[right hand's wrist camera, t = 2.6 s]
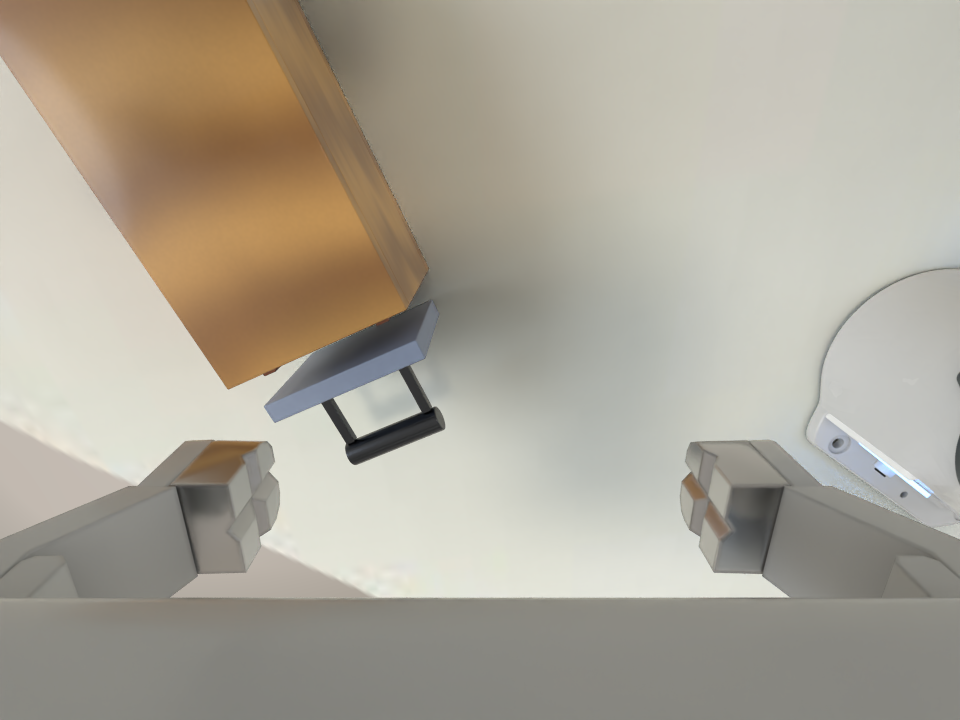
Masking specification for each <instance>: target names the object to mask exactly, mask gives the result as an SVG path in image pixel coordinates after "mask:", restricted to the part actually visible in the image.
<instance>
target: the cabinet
mask: <svg viewBox="0 0 960 720" xmlns="http://www.w3.org/2000/svg"><path fill="white" fill-rule="evenodd" d="M0 56H1V57H2V59H3V60H4V62H5V63H6V65H7V66H8V68H9V69H10V71H11V72H12V74H13V75H14V76H15V78H16V79H17V81H18V82H19V84H20V85H21V87H22V88H23V90H24V91H25V93H26V94H27V96H28V97H29V98H30V100H31V101H32V103H33V104H34V106H35V107H36V109H37V110H38V112H39V113H40V115H41V116H42V118H43V119H44V120H45V122H46V123H47V125H48V126H49V128H50V129H51V131H52V132H53V134H54V135H55V137H56V138H57V140H58V141H59V142H60V144H61V145H62V147H63V148H64V150H65V151H66V153H67V154H68V156H69V157H70V159H71V160H72V162H73V163H74V164H75V166H76V167H77V169H78V170H79V172H80V173H81V175H82V176H83V178H84V179H85V181H86V182H87V184H88V185H89V186H90V188H91V189H92V191H93V192H94V194H95V195H96V197H97V198H98V200H99V201H100V203H101V204H102V206H103V207H104V208H105V210H106V211H107V213H108V214H109V216H110V217H111V219H112V220H113V222H114V223H115V225H116V226H117V228H118V229H119V230H120V232H121V233H122V235H123V236H124V238H125V239H126V241H127V242H128V244H129V245H130V247H131V248H132V250H133V251H134V252H135V254H136V255H137V257H138V258H139V260H140V261H141V263H142V264H143V266H144V267H145V269H146V270H147V272H148V273H149V274H150V276H151V277H152V279H153V280H154V282H155V283H156V285H157V286H158V288H159V289H160V291H161V292H162V294H163V295H164V297H165V298H166V299H167V301H168V302H169V304H170V305H171V307H172V308H173V310H174V311H175V313H176V314H177V316H178V317H179V319H180V320H181V321H182V323H183V324H184V326H185V327H186V329H187V330H188V332H189V333H190V335H191V336H192V338H193V339H194V341H195V342H196V343H197V345H198V346H199V348H200V349H201V351H202V352H203V354H204V355H205V357H206V358H207V360H208V361H209V363H210V364H211V365H212V367H213V368H214V370H215V371H216V373H217V374H218V376H219V377H220V379H221V380H222V382H223V383H224V385H225V386H226V387H227V389H231V388H233V387H235V386H237V385H240V384H242V383H244V382H246V381H249V380H251V379H253V378H255V377H258V376H260V375H262V374H264V373H266V372H269V371H271V370H273V369H275V368H278V367H280V366H282V365H284V364H287V363H289V362H291V361H293V360H296V359H298V358H300V357H302V356H304V355H307V354H309V353H311V352H313V351H316V350H318V349H320V348H322V347H325V346H327V345H329V344H331V343H333V342H336V341H338V340H340V339H342V338H345V337H347V336H349V335H351V334H354V333H356V332H358V331H360V330H363V329H365V328H367V327H369V326H371V325H374V324H376V323H378V322H380V321H383V320H385V319H387V318H389V317H392V316H394V315H396V314H398V313H401V312H403V311H405V310H407V308H408V306H409V304H410V302H411V301H412V299H413V297H414V295H415V293H416V291H417V290H418V288H419V286H420V284H421V282H422V281H423V279H424V277H425V275H426V273H427V271H428V269H429V268H428V266H427V264H426V261H425V259H424V257H423V255H422V253H421V251H420V249H419V247H418V245H417V243H416V241H415V239H414V237H413V235H412V233H411V231H410V229H409V227H408V225H407V223H406V221H405V219H404V217H403V215H402V212H401V210H400V208H399V206H398V204H397V202H396V200H395V198H394V196H393V194H392V192H391V190H390V188H389V186H388V184H387V182H386V180H385V178H384V176H383V174H382V172H381V170H380V168H379V165H378V163H377V161H376V159H375V157H374V155H373V153H372V151H371V149H370V147H369V145H368V143H367V141H366V139H365V137H364V135H363V133H362V131H361V129H360V127H359V125H358V123H357V121H356V118H355V116H354V114H353V112H352V110H351V108H350V106H349V104H348V102H347V100H346V98H345V96H344V94H343V92H342V90H341V88H340V86H339V84H338V82H337V80H336V78H335V76H334V74H333V71H332V69H331V67H330V65H329V63H328V61H327V59H326V57H325V55H324V53H323V51H322V49H321V47H320V45H319V43H318V41H317V39H316V37H315V35H314V33H313V31H312V29H311V27H310V25H309V22H308V20H307V18H306V16H305V14H304V12H303V10H302V8H301V6H300V4H299V2H298V0H0Z"/></svg>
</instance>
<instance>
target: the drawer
mask: <svg viewBox="0 0 960 720" xmlns="http://www.w3.org/2000/svg"><path fill="white" fill-rule="evenodd" d="M438 316H439V312H438V310H437V308H436V306H435V304H434V302H433V300H430V301H428V302H426V303H423V304H421V305H419V306H417V307H414V308H412V309H410V310H408V311H405V312H403V313H401V314H399V315H397V316H394V317H392V318H391V317H389V318H387V319H385V320H383V321H380V322H378V323H376V325H374V326H372V327H370V328H367V329H365V330H363V331H361V332H358V333H356V334H354V335H352V336H350V337H347V338H345V339H343V340H341V341H338V342H336V343H334V344H332V345H329V346H327V347H325V348H323V349H320V350H318V351H316V352H314V353H312V354H311V355H310V357H309V358H308V359H307V360H306V361H305V362H304V363H303V364H302V365H301V366H300V368H299V369H298V370H297V371H296V372H295V373H294V374H293V375H292V376H291V377H290V378H289V380H288V381H287V382H286V383H285V384H284V385H283V386H282V387H281V388H280V389H279V390H278V392H277V393H276V394H275V395H274V396H273V397H272V398H271V399H270V400H269V401H268V402H267V404H266V405H265V406H264V408H265V409H266V411H267V412H268V414H269V415H270V417H271V418H272V420H273V421H274V422H278V421H280V420H283V419H285V418H287V417H290V416H292V415H294V414H297V413H299V412H301V411H304V410H306V409H308V408H311V407H313V406H315V405H318V404H320V403H322V405H323V407H324V408H325V410H326V411H327V413H328V415H329V416H330V418H331V420H332V421H333V423H334V424H335V426H336V428H337V429H338V431H339V432H340V434H341V436H342V437H343V439H344V441H345V442H346V446H345V450H346V455H347V457H348V459H349V461H350V462H351V463H352V464H353V465H358V464H360V463H363V462H365V461H368V460H370V459H373V458H375V457H378V456H380V455H383V454H385V453H388V452H390V451H393V450H395V449H398V448H400V447H403V446H405V445H408V444H410V443H413V442H415V441H418V440H420V439H422V438H425V437H427V436H430V435H432V434H435V433H437V432H440V431H442V430H444V429H445V421H444V418H443V416H442V413H441V412H440V410H439V409H438V408H437V407H432V406H431V404H430V402H429V400H428V398H427V396H426V394H425V393H424V391H423V389H422V387H421V385H420V383H419V381H418V380H417V378H416V376H415V374H414V372H413V370H412V368H411V367H410V365H411V364H414V363H416V362H418V361H421V360H423V359H425V357H426V354H427V351H428V348H429V345H430V342H431V338H432V335H433V332H434V329H435V326H436V323H437V320H438ZM280 367H281V366H280ZM280 367H278V368H275V369H273V370H271V371H269V372H266V373H264V374H263V375H264V376H267V375H269V374H271V373H273V372H276V371H277V370H278V369H279V368H280ZM397 370H399V371H400V373H401V375H402V377H403V378H404V380H405V382H406V384H407V386H408V387H409V389H410V391H411V393H412V395H413V397H414V398H415V400H416V402H417V404H418V406H419V408H420V409H421V411H422V412H420V413H418V414H415V415H413V416H410V417H408V418H406V419H403V420H401V421H398V422H396V423H393V424H391V425H389V426H386V427H384V428H381V429H379V430H376V431H374V432H371V433H369V434H367V435H364V436H362V437H359V438H357V437H356V435H355V433H354V432H353V430H352V429H351V427H350V425H349V424H348V422H347V420H346V419H345V417H344V415H343V414H342V412H341V410H340V409H339V407H338V405H337V404H336V402H335V401H334V399H333V398H334V397H336V396H339V395H341V394H343V393H346V392H348V391H350V390H353V389H355V388H357V387H360V386H362V385H364V384H367V383H369V382H372V381H374V380H376V379H379V378H381V377H383V376H386V375H388V374H390V373H393V372H395V371H397ZM356 438H357V439H356Z"/></svg>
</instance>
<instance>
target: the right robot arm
mask: <svg viewBox="0 0 960 720" xmlns="http://www.w3.org/2000/svg"><path fill="white" fill-rule="evenodd" d="M806 438H807V440H808V441H809V442H810V443H811V444H813V445H814V446H815V447H817V448H818V449H820V450H821V451H822V452H824V453H825V454H826V455H828V456H829V457H831V458H832V459H833V460H835V461H836V462H838V463H839V464H840V465H842V466H843V467H845V468H846V469H847V470H849V471H850V472H852V473H853V474H854V475H856V476H857V477H858V478H860V479H861V480H863V481H864V482H865V483H867V484H868V485H870V486H871V487H872V488H874V489H875V490H877V491H878V492H879V493H881V494H882V495H884V496H885V497H886V498H888V499H889V500H891V501H892V502H893V503H895V504H896V505H897V506H899V507H900V508H902V509H903V510H904V511H906V512H907V513H909V514H910V515H911V516H913V517H914V518H916V519H917V520H919V521H920V522H922V523H923V524H925V525H923V524H921V523H919V522H916V521H914V520H911V519H909V518H907V517H904V516H902V515H899V514H897V513H895V512H892V511H890V510H887V509H885V508H883V507H880V506H878V505H875V504H873V503H871V502H868V501H866V500H863V499H861V498H859V497H856V496H854V495H851V494H849V493H847V492H844V491H842V490H839V489H837V488H835V487H832V486H822V485H821V484H820V483H819V482H818V481H817V480H816V479H815V478H814V477H813V476H811V475H810V474H809V473H808V472H807V471H806V470H805V469H804V468H803V467H802V466H801V465H800V464H799V463H798V462H797V461H795V460H794V459H793V458H792V457H791V456H790V455H789V454H788V453H787V452H786V451H785V450H784V449H783V448H782V447H781V446H779V445H778V444H777V443H776V442H774V441H771V440H751V441H747V440H744V441H702V442H691V443H690V445H689V447H688V449H687V453H686V459H685V462H686V464H687V465H688V467H689V469H690V470H691V472H690V473H689V474H688V475H687V476H686V478H685V479H684V480H683V481H682V484H681V491H680V503H681V511H682V515H683V518H684V521H685V523H686V524H687V526H688V528H689V530H690V531H692V532H694V533H695V534H697V535H698V536H700V542H699V548H700V549H701V551H702V553H703V554H704V556H705V558H706V560H707V561H708V563H709V565H710V567H711V568H712V570H713V572H714V573H748V574H762V576H763V577H764V578H765V579H767V580H768V581H769V582H771V583H772V584H773V585H775V586H776V587H777V588H779V589H780V590H781V591H783V592H784V593H785V594H787V595H788V596H789V597H791V598H170V597H171V596H172V595H174V594H175V593H176V592H178V591H179V590H180V589H182V588H183V587H184V586H185V585H187V584H188V583H189V582H191V581H192V580H193V579H195V578H196V577H197V576H198V575H197V574H212V573H246V572H247V570H248V568H249V567H250V565H251V563H252V561H253V560H254V558H255V556H256V554H257V553H258V551H259V549H260V548H261V542H260V536H262V535H263V534H265V533H266V532H268V531H270V530H271V528H272V526H273V524H274V523H275V521H276V518H277V514H278V510H279V506H280V490H279V483H278V481H277V480H276V479H275V478H274V476H273V475H272V474H271V473H270V472H269V470H270V469H271V467H272V465H273V464H274V462H275V459H274V454H273V449H272V446H271V445H270V444H269V443H268V442H267V441H223V440H217V441H215V440H192V441H185V442H184V443H183V444H182V445H181V446H180V447H179V448H177V449H176V450H175V451H174V452H173V453H172V454H171V455H170V456H169V457H168V458H167V459H166V460H165V461H164V462H162V463H161V464H160V465H159V466H158V467H157V468H156V469H155V470H154V471H153V472H152V473H151V474H150V475H149V476H147V477H146V478H145V479H144V480H143V481H142V482H141V483H140V484H139V485H138V486H128V487H125V488H123V489H121V490H118V491H116V492H113V493H111V494H109V495H106V496H104V497H101V498H99V499H97V500H94V501H92V502H89V503H87V504H84V505H82V506H80V507H77V508H75V509H73V510H70V511H68V512H65V513H63V514H60V515H58V516H56V517H53V518H51V519H48V520H46V521H44V522H41V523H39V524H36V525H34V526H32V527H29V528H27V529H24V530H22V531H19V532H17V533H15V534H12V535H10V536H7V537H5V538H3V539H0V720H960V540H959V539H957V538H955V537H952V536H950V535H947V534H945V533H943V532H940V531H938V530H935V529H933V528H931V527H942V526H948V525H953V524H957V523H960V269H940V270H933V271H928V272H923V273H920V274H916V275H913V276H910V277H907V278H905V279H903V280H900V281H898V282H896V283H894V284H892V285H890V286H888V287H887V288H885V289H883V290H882V291H880V292H878V293H877V294H876V295H874V296H873V297H871V298H870V299H869V300H868V301H866V302H865V303H864V304H863V305H862V306H861V307H859V308H858V309H857V310H856V311H855V312H854V313H853V314H852V315H851V317H850V318H849V319H848V320H847V321H846V322H845V324H844V325H843V326H842V328H841V329H840V330H839V332H838V333H837V335H836V337H835V338H834V340H833V342H832V344H831V346H830V348H829V350H828V352H827V355H826V358H825V361H824V364H823V368H822V374H821V386H820V399H819V403H818V406H817V408H816V409H815V411H814V413H813V415H812V417H811V419H810V422H809V424H808V426H807V430H806ZM836 439H837V441H836V442H834V443H833V441H834V440H836ZM926 525H927V526H926ZM928 526H929V527H928Z"/></svg>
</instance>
